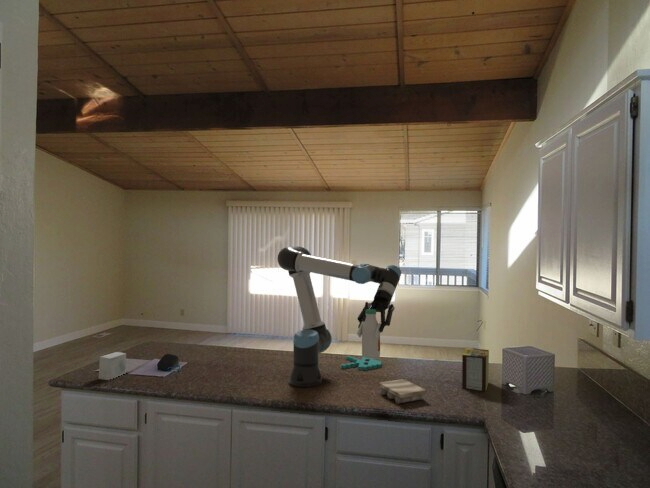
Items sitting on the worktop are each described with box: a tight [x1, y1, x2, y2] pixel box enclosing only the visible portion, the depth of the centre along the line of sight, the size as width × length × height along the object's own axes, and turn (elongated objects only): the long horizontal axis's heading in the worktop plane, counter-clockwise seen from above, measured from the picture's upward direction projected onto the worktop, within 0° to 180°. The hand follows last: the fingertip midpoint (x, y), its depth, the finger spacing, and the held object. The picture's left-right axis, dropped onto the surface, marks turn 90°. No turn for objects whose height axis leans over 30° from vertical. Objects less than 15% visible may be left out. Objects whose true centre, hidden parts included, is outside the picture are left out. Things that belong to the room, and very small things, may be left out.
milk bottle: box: [361, 308, 381, 359], centre depth 183 cm, size 8×8×20 cm
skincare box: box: [98, 351, 127, 381], centre depth 204 cm, size 10×6×10 cm, turn 161°
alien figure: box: [340, 355, 383, 371], centre depth 231 cm, size 20×2×20 cm
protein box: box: [461, 347, 490, 393], centre depth 199 cm, size 10×15×16 cm
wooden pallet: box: [378, 378, 427, 405], centre depth 182 cm, size 16×13×4 cm
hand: (367, 336), depth 180 cm, fingers closed on milk bottle, 7 cm apart
